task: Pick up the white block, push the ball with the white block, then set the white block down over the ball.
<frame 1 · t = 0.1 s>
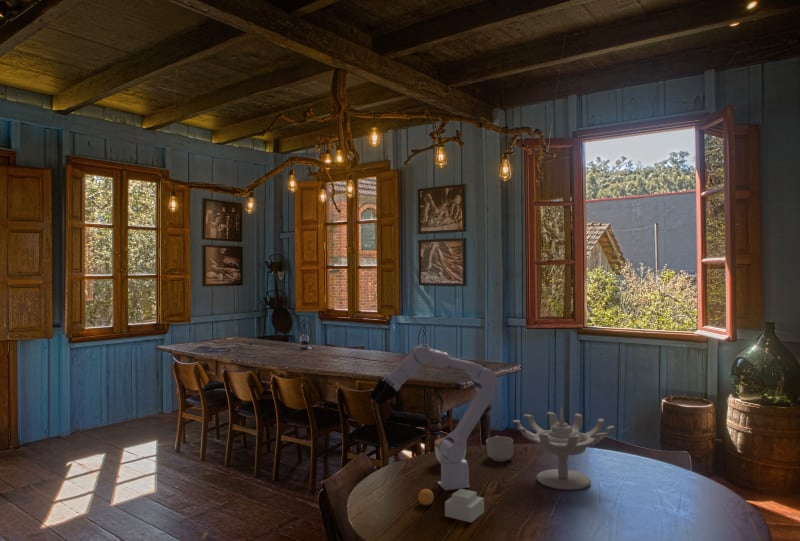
hand: (374, 400, 188), 32 cm above the table, tool tilted 50°, fingers open, 7 cm apart
teacup: (500, 458, 225), on the table
lidded bowl: (450, 465, 218), on the table
ball: (426, 497, 179), on the table
candelabra: (563, 482, 197), on the table
white block: (464, 514, 171), on the table
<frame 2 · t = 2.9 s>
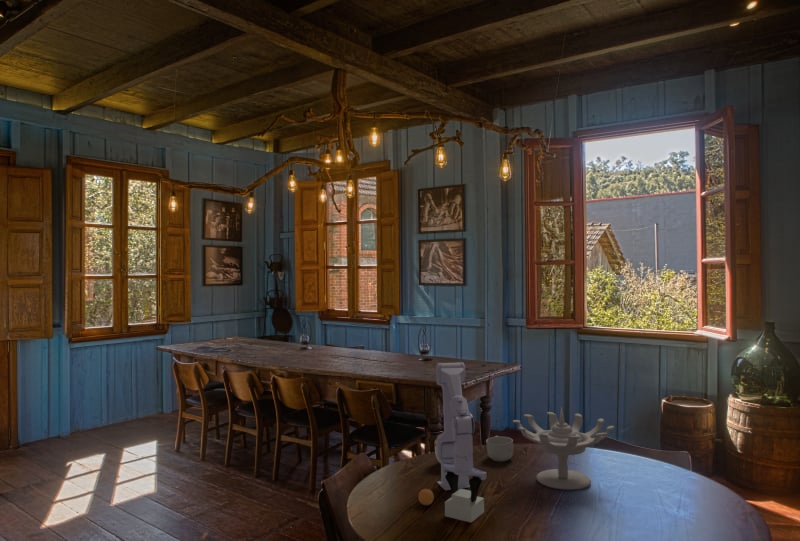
hand: (464, 498, 171), 5 cm above the table, tool pointing down, fingers closed on white block, 6 cm apart
white block: (464, 514, 171), on the table, touching gripper
everything else where it was.
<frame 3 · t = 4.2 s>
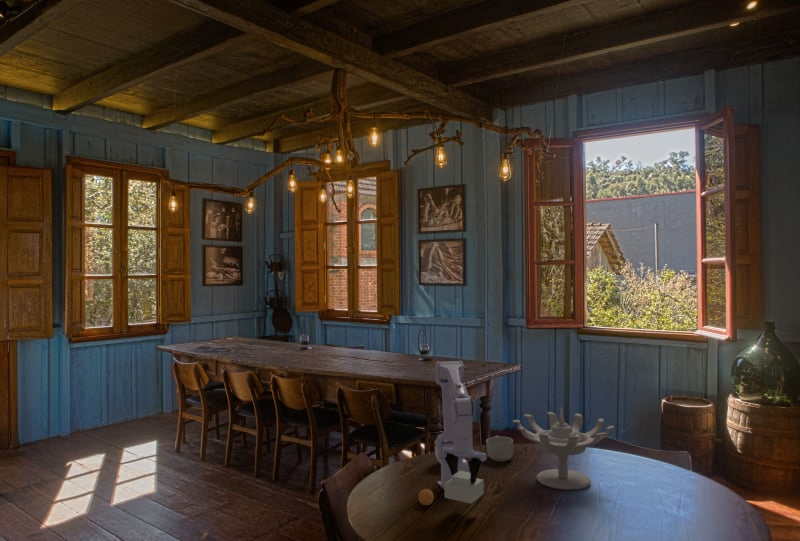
hand: (464, 480, 171), 10 cm above the table, tool pointing down, fingers closed on white block, 6 cm apart
white block: (464, 495, 171), point 6 cm above the table, touching gripper
everything else where it was.
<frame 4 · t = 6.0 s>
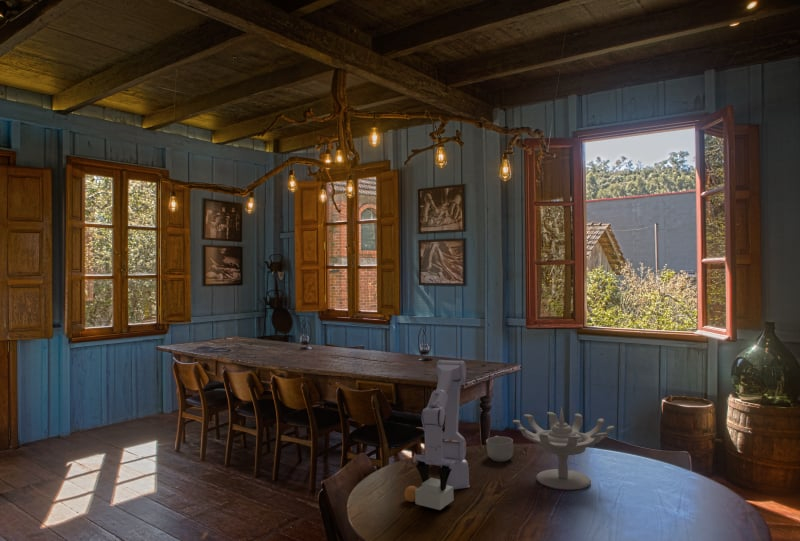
hand: (434, 487, 177), 6 cm above the table, tool pointing down, fingers closed on white block, 6 cm apart
ball: (411, 493, 182), on the table
white block: (434, 502, 177), point 1 cm above the table, touching gripper
everything else where it was.
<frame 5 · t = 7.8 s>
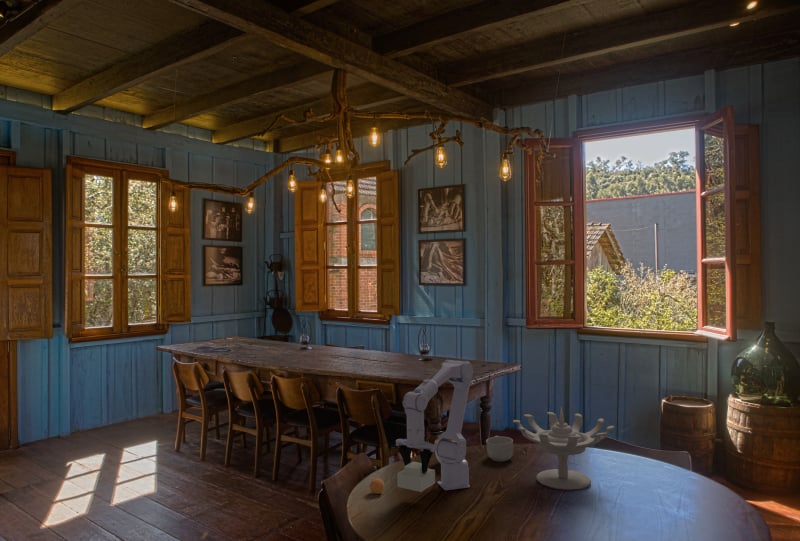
hand: (416, 470, 181), 10 cm above the table, tool pointing down, fingers closed on white block, 6 cm apart
ball: (377, 486, 189), on the table
white block: (416, 484, 181), point 6 cm above the table, touching gripper
everything else where it was.
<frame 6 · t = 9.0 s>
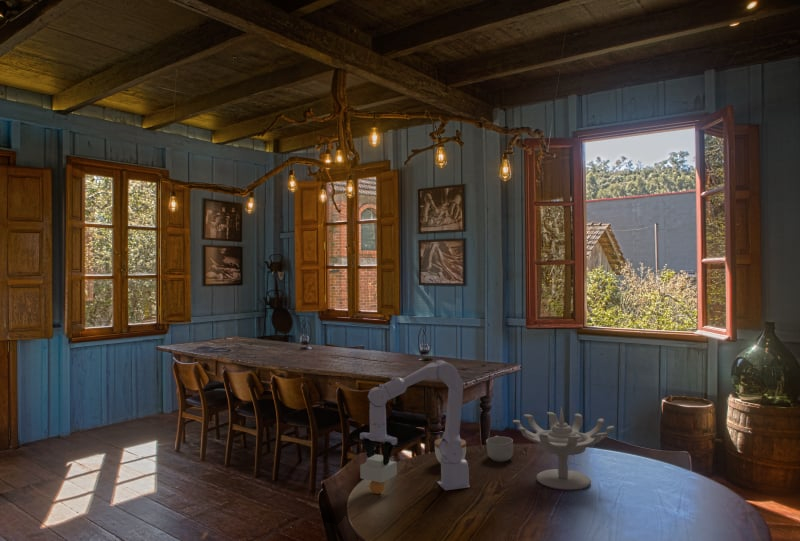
hand: (378, 462, 190), 10 cm above the table, tool pointing down, fingers closed on white block, 6 cm apart
white block: (378, 476, 190), point 6 cm above the table, touching gripper
everything else where it was.
when the fingers open (5 cm above the table, at t = 12.3 s): white block stays where it is, on the table.
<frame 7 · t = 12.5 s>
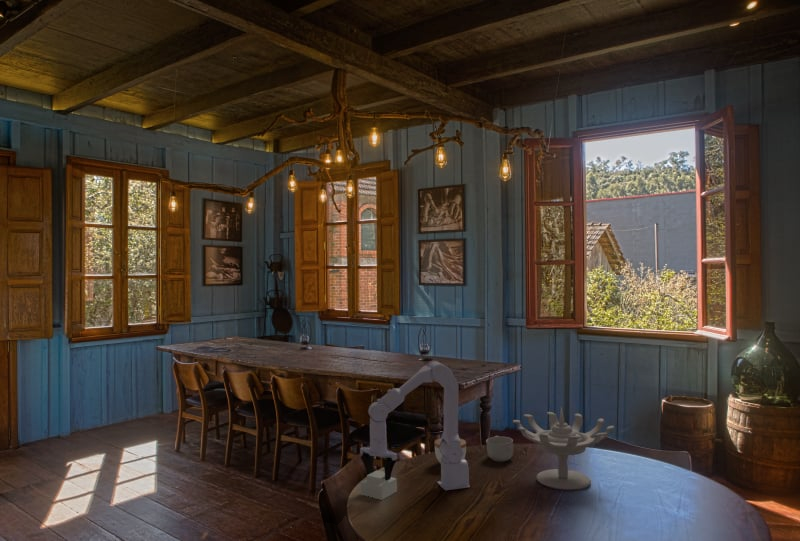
hand: (378, 477, 190), 5 cm above the table, tool pointing down, fingers open, 7 cm apart
white block: (378, 493, 190), on the table
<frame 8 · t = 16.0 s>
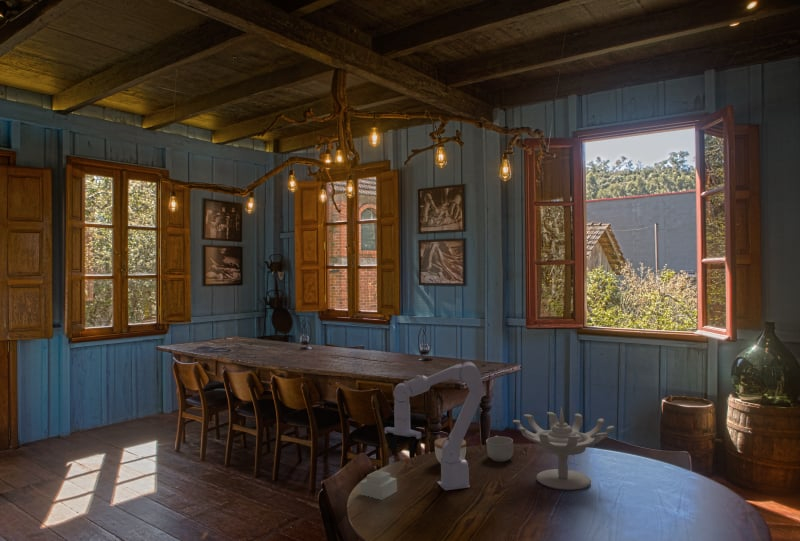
hand: (403, 455, 197), 10 cm above the table, tool pointing down, fingers open, 7 cm apart
nothing on the table moved.
at the end: ball 0.4 cm from the white block (horizontally); white block on the table; ball moved 19.0 cm from its start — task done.
